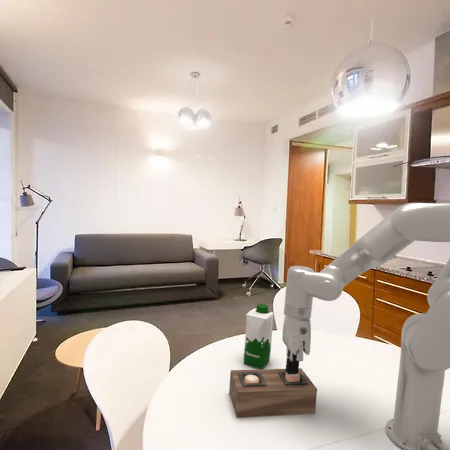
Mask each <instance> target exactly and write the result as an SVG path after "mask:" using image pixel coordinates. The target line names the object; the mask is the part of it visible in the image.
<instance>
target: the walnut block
mask: <svg viewBox="0 0 450 450" xmlns="http://www.w3.org/2000/svg"><path fill="white" fill-rule="evenodd" d="M298 372H299V373H300V381H299V382H287V380H286V379H285V375H286V368H266V369H264V368H263V369H259V368H257V369H230V374H229V375H230V377H229V389H228V390H229V391H228V394H229V397H230V399H231V404H232V407H233V411H234V414H235V416H236V418H253V417H254V418H255V417H273V416H291V415H293V416H294V415H312V414H316V407H317V394H318V388H317V387H316V386H315V384H314V383H313V382H312V380H311V378H309V376H308V375H307V374H306V372H305V371H304V369H303V368H299V370H298ZM246 375H255V376H257V377H258V378H259V383H245V376H246Z"/></svg>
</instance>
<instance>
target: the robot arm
mask: <svg viewBox="0 0 450 450" xmlns="http://www.w3.org/2000/svg"><path fill="white" fill-rule="evenodd" d="M415 241H417V242H432V243H450V202H446V203H445V202H444V203H441V202H439V203H437V202H435V203H434V202H408V203H404V204H402V205H400V206H399V207H397V208H396V209H395V210H393V212H391V213H390V214H389V215H388V216H386V217H385V218H384V219H383V220H381V221H380V222H379V223H377V224H376V225H375V226H373V228H371V229H370V230H369V231H367V232H366V233H365V234H363V236H361V237H360V238H359V239H357V240H356V241H355V242H354V243H353V244H352V245H351V246H350V247H348V248H347V249H346V250H345V251H344V252H342V253H341V254H339V256H338V257H336V258H335V259H333V260H332V261H331V262H330V263H329V264H328V265H326V266H325V267H324V268H323V269H321V270H320V272H316V271H315V270H314V269H313V268H311V267H308V266H304V265H292V266H290V267H289V268H288V269H287V272H286V273H287V274H286V276H287V277H286V287H285V295H284V296H285V297H284V308H283V309H284V310H283V316H284V320H283V327H282V335H281V337H282V339H281V340H282V342H283V344H284V345H285V346H286V361H285V362H286V364H285V369H286V372H287V373H288V374H298V370H299V367H300V362H303V361H304V355H306V356H309V355H310V352H311V341H312V340H311V339H312V330H311V329H312V324H311V318H312V312H313V311H312V308H313V299H314V298H316V299H319V300H321V301H325V302H333V301H336V300H337V299H339V298H340V297H341V295H342V293H343V290H344V287H346V286H347V285H348V284H350V283H351V282H352V281H354V280H356V278H357V277H358V276H360V275H362V274H363V273H366V272H367V271H369V270H370V269H375V268H379V267H381V266H383V265H385V264H386V263H387V262H388V261H390V260H391V259H392V258H394V257H395V256H397V255H398V254H399V253H401V252H402V251H403V250H404V249H406V248H408V246H410V245H412V244H413V243H414V242H415ZM426 299H427V303H428V305H429V308H428V309H427V311H426V313H423V312H422V313H416V314H412V315H411V316H409V317H408V318H407V319H406V320H405V321H404V322H403V325H402V327H401V328H402V329H401V337H400V356H399V358H400V359H399V368H398V377H397V385H396V394H395V395H396V396H395V403H394V411H393V412H394V414H393V418H391V419H389V420H388V421H387V422H386V424H385V431H386V434H387V437H388V438H389V439H390V440H391V441H392V442H393V443H394V444H395V445H396V446H398V447H399V448H401V449H402V450H448V449H447V448H446V447H445V446H444V445H445V444H444V442H443V440H442V437H441V436H442V434H440V433H439V432H438V431H439V425H440V424H439V423H440V414H441V406H442V398H443V392H444V391H443V390H444V389H443V388H444V383H445V374H446V373H445V372H446V371H447V370H448V369H449V370H450V257H449V258H448V260H447V262H446V263H445V265H444V267H443V268H442V269H441V271H440V272H439V274H438V276H437V277H436V279H435V281H434V282H433V283H432V284H431V286H430V288H429V289H428V292H427V295H426Z"/></svg>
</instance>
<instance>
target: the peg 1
mask: <svg viewBox="0 0 450 450" xmlns="http://www.w3.org/2000/svg"><path fill="white" fill-rule="evenodd" d="M245 383H259V378H258V377H257V376H255V375H246V376H245Z"/></svg>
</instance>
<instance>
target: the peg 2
mask: <svg viewBox="0 0 450 450" xmlns="http://www.w3.org/2000/svg"><path fill="white" fill-rule="evenodd" d="M285 379H286V380H287V382H299V381H300V373H299V372H298V374H288V373H287V372H286V375H285Z"/></svg>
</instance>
